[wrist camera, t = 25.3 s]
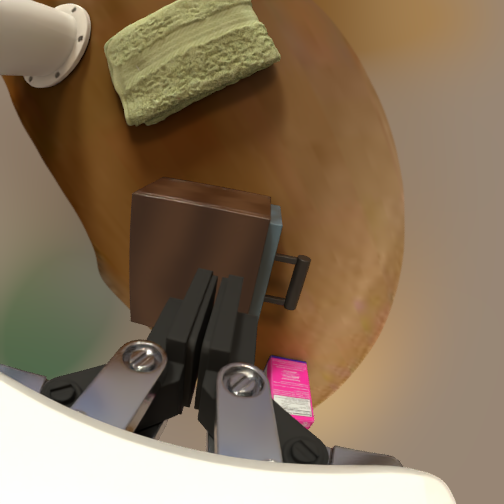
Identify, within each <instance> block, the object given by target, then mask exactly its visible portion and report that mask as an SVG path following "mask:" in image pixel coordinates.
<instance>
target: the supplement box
mask: <svg viewBox="0 0 504 504" xmlns="http://www.w3.org/2000/svg"><path fill="white" fill-rule="evenodd" d="M263 372H264V373H265V374H266V376H267V378H268V380H269V384H270V390H271V395H272V399H273V400H274V401H276V402H277V403H278V404H279V405H280V406H281V407H282V408H283V409H284V410H286V411H287V412H288V413H289V414H290V415H291V416H292V417H294V418H295V419H296V420H297V421H298V422H299V423H300V424H302V425H303V426H304V427H305V428H306V429H309V428H310V426H311V425H312V423H313V422H314V416H313V408H312V400H311V393H310V386H309V378H308V371H307V364H306V362H304V361H298V360H293V359H288V358H283V357H278V356H273V355H271V356H270V358H269V360H268V362H267V364H266V367H265V369H264V371H263Z"/></svg>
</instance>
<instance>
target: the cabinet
mask: <svg viewBox="0 0 504 504" xmlns="http://www.w3.org/2000/svg"><path fill="white" fill-rule="evenodd" d="M270 215H271V197H269V196H264V195H260V194H255V193H250V192H245V191H240V190H235V189H230V188H225V187H219V186H214V185H208V184H203V183H197V182H192V181H186V180H180V179H174V178H168V177H162V178H160V179H158V180H156V181H155V182H153V183H151V184H149V185H147V186H145V187H143V188H141V189H139V190H137V191H136V192H134V193H133V194H132V206H131V225H130V313H131V321H132V322H135V323H139V324H143V325H146V326H149V327H154V325H155V323H156V321H157V319H158V318H159V316H160V314H161V312H162V310H163V308H164V306H165V305H166V303H167V301H168V299H169V298H170V297H173V298H177V299H181V300H183V299H184V297H185V295H186V293H187V291H188V289H189V287H190V284H191V282H192V280H193V278H194V276H195V274H196V272H197V270H198V268H201V269H206V270H211V271H213V275H216V276H218V282H217V288H216V294H215V300H216V297H217V294H218V290H219V287H220V284H221V281H222V277H225V278H228V277H229V274H230V275H235V276H240V277H244V279H243V284H242V290H241V295H240V301H239V307H238V312H241V313H246V314H249V309H250V305H251V301H252V297H253V293H254V288H255V284H256V280H257V276H258V271H259V267H260V263H261V259H262V254H263V250H264V246H265V241H266V237H267V233H268V228H269V224H270ZM215 300H214V303H215Z"/></svg>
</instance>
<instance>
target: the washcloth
mask: <svg viewBox="0 0 504 504" xmlns="http://www.w3.org/2000/svg"><path fill="white" fill-rule="evenodd" d="M267 34H268V33H267V30H266V28H265V26H264V25H263V24H262V23H261V22H259V21H258V18H257V16H256V14H255V13H254V11H253V9H252V3H251V0H177V1H175V2H174V3H172V4H170V5H168V6H165V7H163V8H161V9H159V10H158V11H157V12H155V13H153V14H149V15H148V16H147V17H145V18H143V19H141V20H138V21H137V22H135V23H133V24H131V25H129V26H127V27H126V28H125V29H123V30H121V31H120V32H118V33H117V35H115V36H113V37H112V38H110V40H109V41H107V43H106V44H105V46H104V51H105V55H106V57H107V60H108V65H109V69H110V73H111V77H112V83H113V84H114V86H115V90H116V92H117V93H118V94H119V96H120V99H121V101H122V104H123V108H124V112H125V119H126V122H127V124H128V125H130V126H133V125H135V126H136V127H137V126H138V125H140V124H142V123H145V124H146V125H147V126H149V125H152V124H157V123H158V122H160V121H162V120H164V119H165V118H166V117H168V116H169V115H171V114H173V113H176V112H178V111H180V110H181V109H183V108H184V107H187V106H188V105H189V104H192V102H194V101H198V100H200V99H202V98H204V97H206V96H208V95H211V94H212V93H213V92H215V91H219V90H221V89H223V88H225V87H226V85H231V84H234V83H236V82H238V81H239V79H242V78H245V77H248V76H251V74H254V73H255V72H257V71H259V70H262V69H266V68H267V67H269V66H271V65H272V64H273V63H275V62H277V61H279V60H280V56H281V55H280V54H279V52H278V50H277V48H275V46H274V43H273V41H272V39H271V38H270V37H269V36H268V35H267Z"/></svg>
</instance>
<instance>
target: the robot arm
mask: <svg viewBox="0 0 504 504" xmlns="http://www.w3.org/2000/svg"><path fill="white" fill-rule="evenodd" d="M90 31H91V22H90V18H89V15H88V13H87V12H86V10H84V9H83V8H82V7H80V6H78V5H75V4H64V5H60V6H58V7H56V8H52V7H49V6H46V5H43V4H40V3H38V2H34V1H31V0H0V75H19V76H24V79H25V80H26V81H27V83H28V84H30V85H31V86H33V87H36V88H47V87H51V86H53V85H56V84H57V83H59V82H61V81H62V80H63V79H64V78H66V77H67V76H68V75H69V74H70V73H71V72H72V70H73V69H74V68H75V67H76V65H77V64H78V63H79V61H80V59H81V57H82V56H83V54H84V52H85V49H86V47H87V44H88V41H89V37H90ZM243 279H244V277H240V276H235V275H230V274H229V277H228V278H225V277H222V281H221V284H220V287H219V290H218V294H217V297H216V300H215V294H216V288H217V282H218V276H216V275H213V271H211V270H206V269H201V268H198V270H197V272H196V274H195V276H194V278H193V280H192V282H191V284H190V287H189V289H188V291H187V293H186V295H185V297H184V299H183V300H181V299H177V298H173V297H170V298H169V299H168V301H167V303H166V305H165V306H164V308H163V310H162V312H161V314H160V316H159V318H158V319H157V321H156V323H155V325H154V327H153V329H152V331H151V333H150V334H149V336H148V338H147V340H134V341H130V342H128V343H126V344H124V345H123V346H122V347H121V348H120V349H119V350H118V351H117V352H116V354H115V355H114V356H113V357H112V358H111V359H110V361H109V362H108V363H107V364H105V365H101V366H97V367H94V368H90V369H86V370H83V371H79V372H75V373H71V374H67V375H63V376H59V377H56V378H54V379H51V380H47V379H46V376H42V375H38V374H34V373H31V372H27V371H23V370H19V369H16V368H13V367H10V366H6V365H3V364H0V504H456V502H455V500H454V497H453V495H452V493H451V491H450V489H449V488H448V486H447V485H446V484H445V483H444V481H442V480H441V479H439V478H438V477H436V476H434V475H432V474H430V473H427V472H424V471H420V470H416V469H411V468H406V467H403V466H402V464H401V463H400V461H399V460H397V459H396V458H395V457H392V456H389V455H384V454H377V453H371V452H365V451H360V450H354V449H349V448H344V447H340V446H334V447H333V448H330V447H326V446H325V445H324V444H323V443H322V441H321V440H320V439H318V438H317V437H316V436H315V435H313V434H312V433H311V432H310V431H309V430H308V429H306V428H305V427H304V426H303V425H302V424H300V423H299V422H298V421H297V420H296V419H295V418H294V417H292V416H291V415H290V414H289V413H288V412H287V411H286V410H284V409H283V408H282V407H281V406H280V405H279V404H278V403H277V402H276V401H274V400H273V399H272V395H271V390H270V384H269V380H268V378H267V376H266V374H265V373H264V372H263V371H262V370H261V369H259V368H258V367H256V366H254V362H255V350H256V337H257V324H258V316H256V315H251V314H246V313H241V312H238V307H239V301H240V295H241V290H242V284H243ZM214 300H215V303H214ZM197 378H198V379H197ZM196 382H197V388H196V397H195V406H194V408H195V409H198V410H199V413H198V420H199V422H200V423H201V424H202V425H203V426H204V428H205V429H206V430H207V433H206V452H203V451H198V450H193V449H190V448H185V447H181V446H177V445H173V444H169V443H165V442H162V441H158V440H159V438H160V436H161V434H162V432H163V430H164V429H165V427H166V425H167V421H168V419H169V418H171V417H173V416H176V415H178V414H182V411H183V407H184V406H186V407H190V404H191V400H192V396H193V393H194V389H195V385H196Z"/></svg>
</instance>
